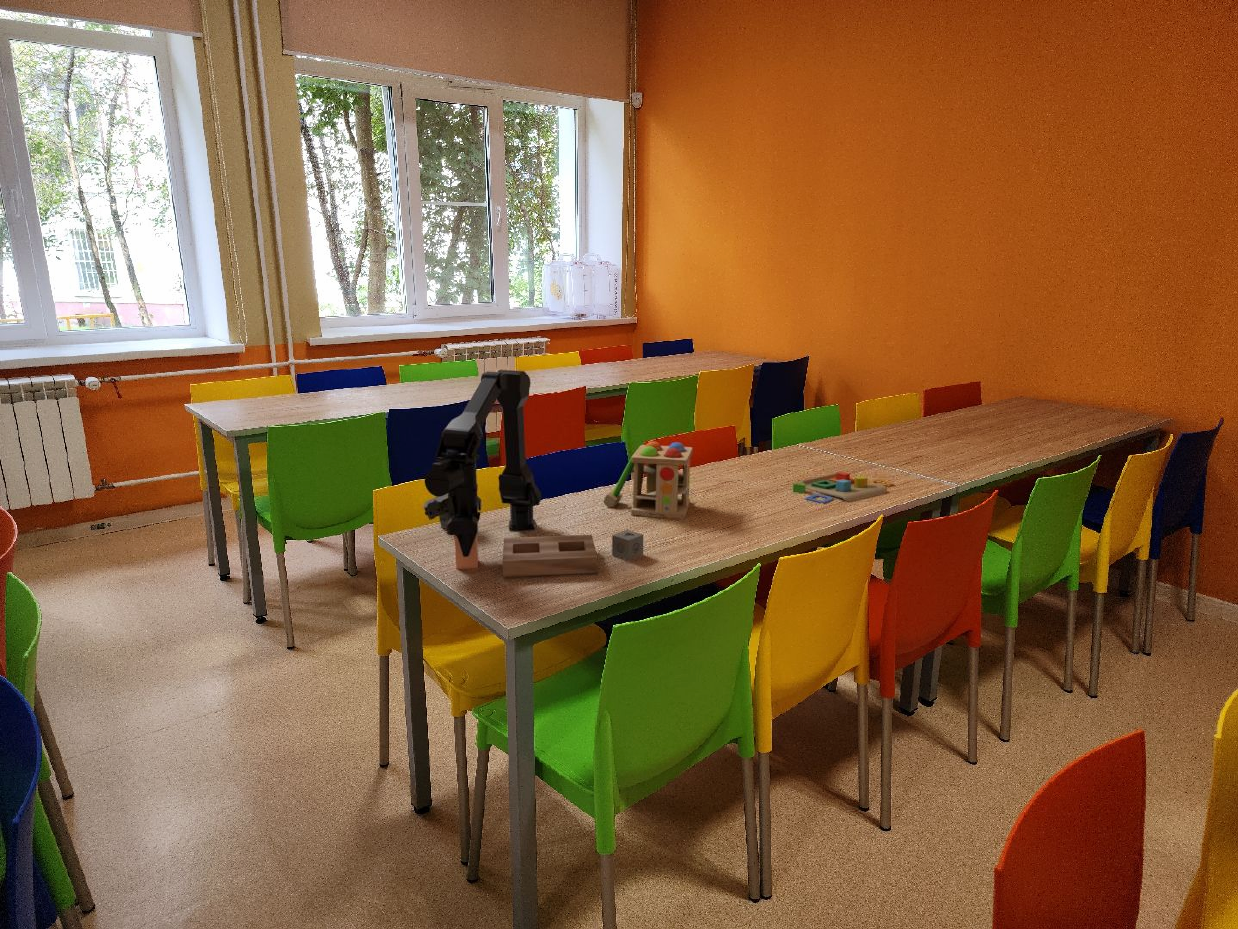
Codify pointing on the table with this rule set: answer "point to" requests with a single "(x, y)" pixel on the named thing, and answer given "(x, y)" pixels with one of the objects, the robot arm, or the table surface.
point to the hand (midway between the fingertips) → (466, 551)
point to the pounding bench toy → (657, 481)
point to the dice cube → (627, 545)
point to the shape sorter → (841, 487)
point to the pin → (466, 561)
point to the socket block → (549, 556)
